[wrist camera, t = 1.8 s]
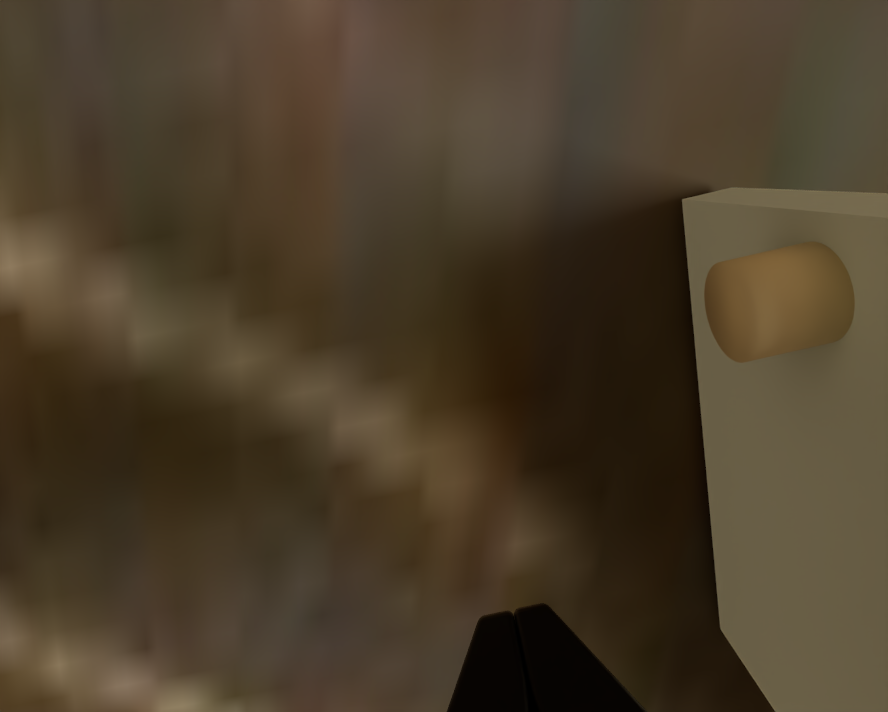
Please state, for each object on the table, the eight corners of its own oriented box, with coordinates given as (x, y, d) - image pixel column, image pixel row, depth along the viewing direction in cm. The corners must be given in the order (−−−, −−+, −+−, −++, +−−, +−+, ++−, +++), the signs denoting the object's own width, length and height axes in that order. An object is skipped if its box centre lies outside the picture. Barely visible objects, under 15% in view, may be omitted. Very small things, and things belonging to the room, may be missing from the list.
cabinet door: (732, 187, 11) (1069, 200, 5) (759, 620, 14) (985, 916, 9) (621, 213, 11) (838, 253, 5) (673, 638, 14) (841, 944, 9)
